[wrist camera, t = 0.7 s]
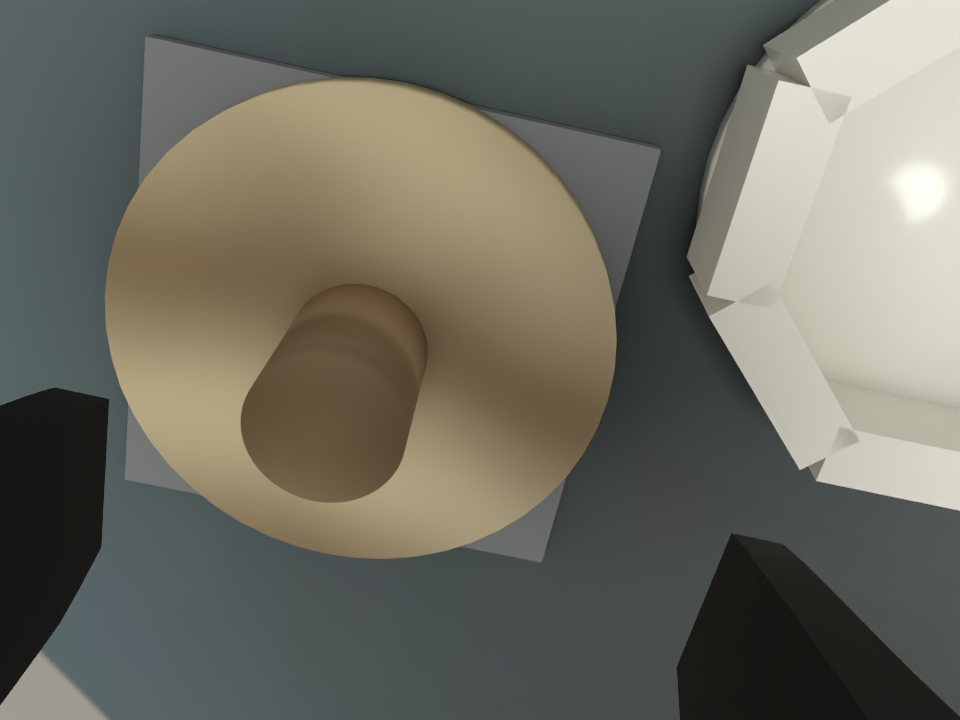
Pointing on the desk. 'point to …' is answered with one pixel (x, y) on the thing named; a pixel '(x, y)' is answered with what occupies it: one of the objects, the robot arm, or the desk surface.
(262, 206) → the lid
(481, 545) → the mat
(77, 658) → the desk surface
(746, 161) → the bowl
